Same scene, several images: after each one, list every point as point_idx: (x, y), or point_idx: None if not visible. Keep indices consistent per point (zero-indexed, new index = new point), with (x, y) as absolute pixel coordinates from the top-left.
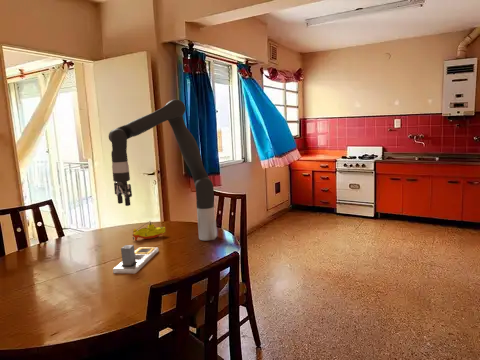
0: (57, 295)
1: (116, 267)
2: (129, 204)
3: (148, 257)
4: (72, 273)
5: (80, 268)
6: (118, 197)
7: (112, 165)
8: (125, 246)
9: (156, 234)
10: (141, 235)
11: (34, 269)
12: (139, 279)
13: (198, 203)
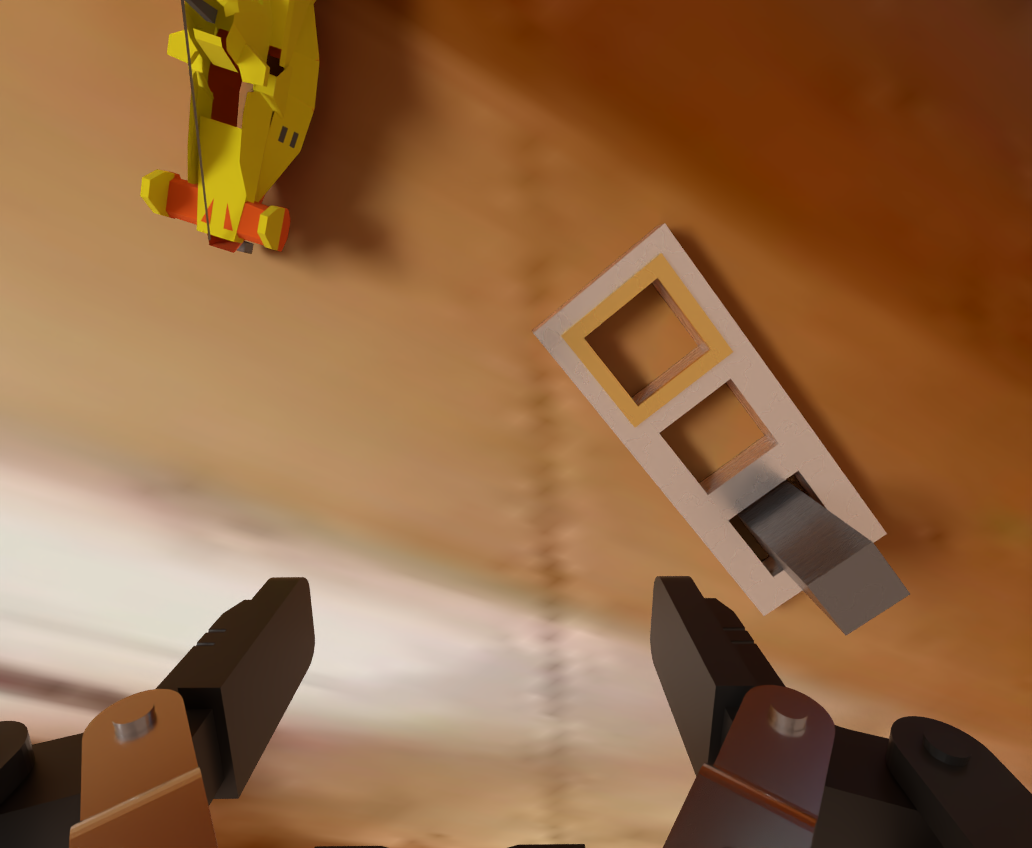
0: None
1: (765, 595)
2: (716, 609)
3: (773, 377)
4: (564, 736)
5: (526, 691)
6: (251, 757)
7: None
8: (839, 597)
9: (314, 30)
10: (271, 178)
11: (344, 840)
12: (956, 539)
13: None
